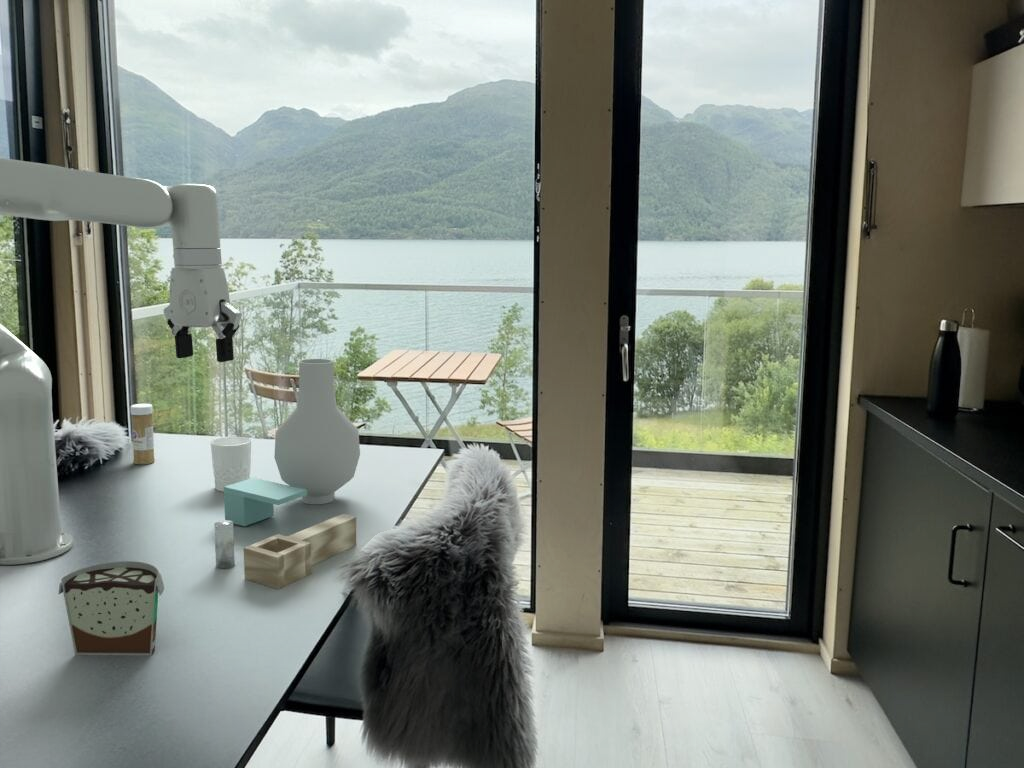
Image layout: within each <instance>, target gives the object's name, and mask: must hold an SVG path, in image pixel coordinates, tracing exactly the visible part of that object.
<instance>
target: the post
mask: <svg viewBox="0 0 1024 768" xmlns="http://www.w3.org/2000/svg"><path fill="white" fill-rule="evenodd" d="M213 526H214V528H213V529H214V547H215V548H214V549H215V568H217V569H218V570H219V569H220V570H225V569H231V568H234V566H235V565H236V564H235V563H236V562H235V559H236V558H235V536H234V523H233V521H230V520H225V519H224V520H223V519H222V520H219V521H216V522H214V525H213Z"/></svg>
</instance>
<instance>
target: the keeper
mask: <svg viewBox="0 0 1024 768" xmlns="http://www.w3.org/2000/svg"><path fill="white" fill-rule="evenodd" d="M306 495H307V490H306V489H301V488H297V487H293V486H289V485H288V484H283V483H279V482H275V481H270V480H266V479H262V478H258V477H250V479H247V480H244V481H241V482H238V483H235V484H231V485H228V486H225V487H224V492H223V497H224V498H223V499H224V500H223V503H224V520H230V521H233V525H234V524H235V525H238V526H243V527H246V526H249V525H252V524H255V523H258V522H260V521H264V520H266V519H268V518H270V517H274V515H275V514H274V513H275V512H274V505H276V506H280V505H283V504H286V503H290V502H291V501H295V500H298V499H301V498H302V497H303V496H306Z"/></svg>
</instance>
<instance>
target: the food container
mask: <svg viewBox="0 0 1024 768" xmlns="http://www.w3.org/2000/svg"><path fill="white" fill-rule="evenodd" d="M164 591H165V584H164V580H163V578H162V574H161V573H160V571H159V569H158V567H156V566H154V565H152V564H150V563H147V562H142V561H133V560H131V561H130V560H128V561H127V560H125V561H124V560H123V561H122V560H121V561H109V562H104V563H99V564H98V563H97V564H93V565H89V566H85V567H83V568H79V569H77V570H74V571H72V572H70V573H68V574H66V575H64V576H63V577H62V578H61V582H60V583H59V587H58V595H62V593H63V598H64V604H65V608H66V612H67V613H66V614H67V620H68V624H69V630H70V634H71V640H72V646H73V651H74V655H75V656H153V654H154V652H156V650H155V649H156V635H157V619H158V603H159V596H162V594H163V593H164Z"/></svg>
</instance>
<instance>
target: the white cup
mask: <svg viewBox="0 0 1024 768" xmlns="http://www.w3.org/2000/svg"><path fill="white" fill-rule="evenodd" d="M210 448H211V463H212V470H213V477H214V487H215V490H216V491H219V492H223V493H224V487H225V486H228V485H231V484H235V483H238V482H241V481H244V480H247V479H251V463H252V459H251V458H252V439H251V438H249V437H247V436H246V437H245V436H224V437H218V438H215V439H212V440H211V441H210Z"/></svg>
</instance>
